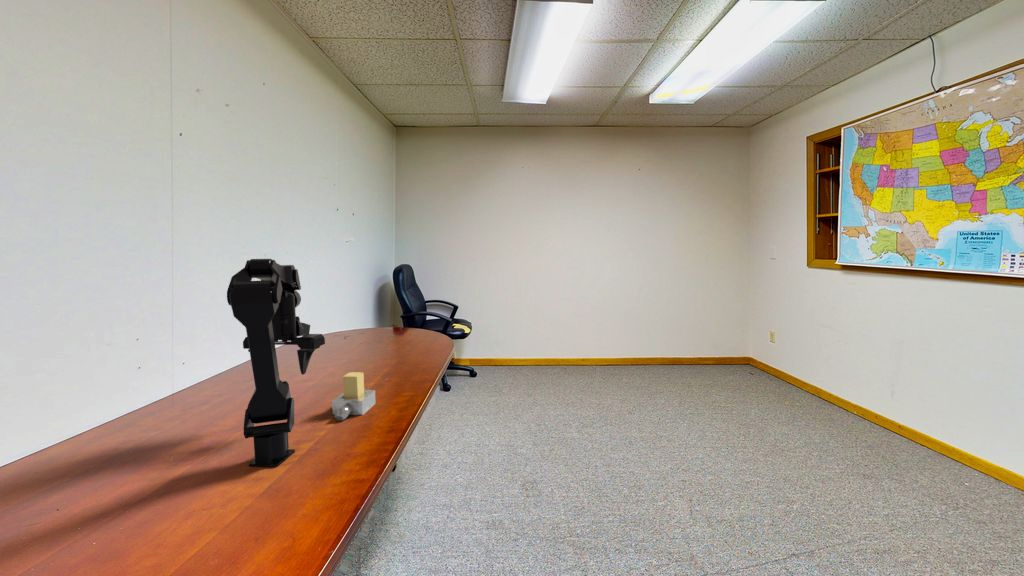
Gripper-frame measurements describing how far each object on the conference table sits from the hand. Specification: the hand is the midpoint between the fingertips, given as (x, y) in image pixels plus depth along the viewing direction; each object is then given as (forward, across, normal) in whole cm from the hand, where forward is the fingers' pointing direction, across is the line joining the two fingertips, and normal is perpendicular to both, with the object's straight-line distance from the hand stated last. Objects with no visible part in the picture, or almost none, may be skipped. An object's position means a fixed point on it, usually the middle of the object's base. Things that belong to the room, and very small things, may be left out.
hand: (286, 373), depth 104 cm
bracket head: (+13, -13, -10) cm, 21 cm away
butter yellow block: (+13, -13, -10) cm, 21 cm away
